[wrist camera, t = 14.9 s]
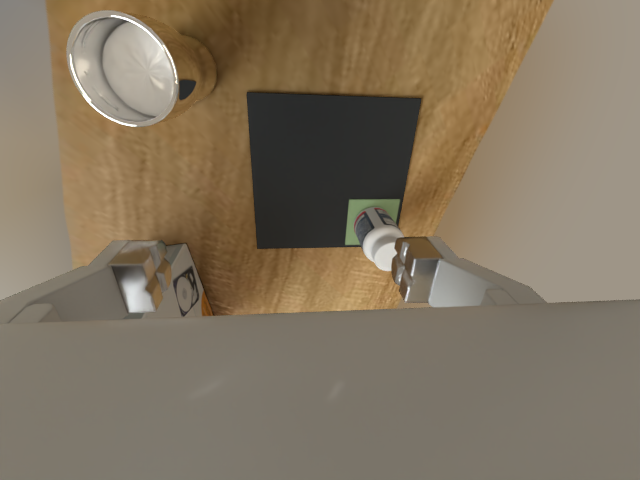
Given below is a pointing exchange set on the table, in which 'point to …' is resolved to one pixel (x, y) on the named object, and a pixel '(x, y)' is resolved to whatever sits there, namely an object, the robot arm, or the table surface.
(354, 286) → the table surface
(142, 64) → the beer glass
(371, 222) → the pill bottle
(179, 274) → the hard drive box
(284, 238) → the mat
